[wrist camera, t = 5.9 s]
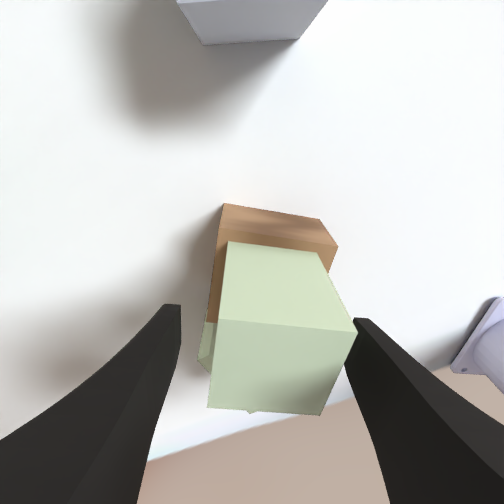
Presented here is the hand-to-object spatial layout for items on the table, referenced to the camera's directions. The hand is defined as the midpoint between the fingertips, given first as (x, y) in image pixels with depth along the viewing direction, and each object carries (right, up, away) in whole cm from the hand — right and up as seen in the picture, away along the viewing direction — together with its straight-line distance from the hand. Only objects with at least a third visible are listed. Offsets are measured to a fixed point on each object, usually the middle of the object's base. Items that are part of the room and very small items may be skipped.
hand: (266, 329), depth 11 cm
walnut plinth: (0, +3, +7) cm, 8 cm away
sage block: (0, +2, +3) cm, 4 cm away
